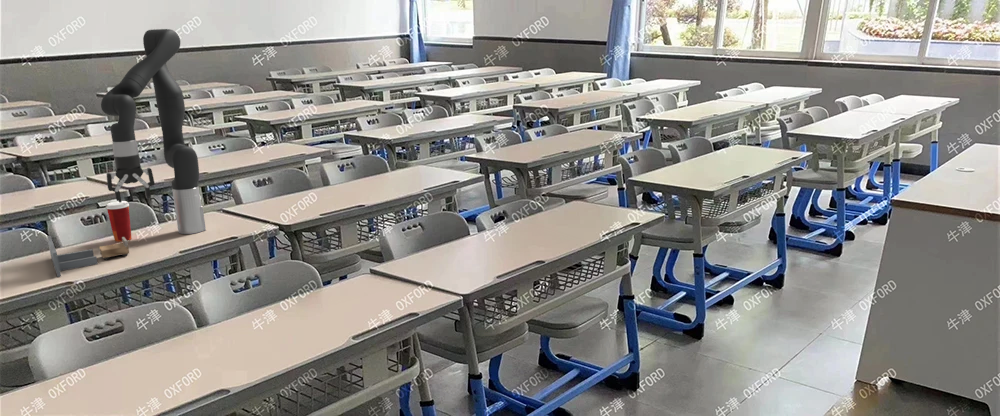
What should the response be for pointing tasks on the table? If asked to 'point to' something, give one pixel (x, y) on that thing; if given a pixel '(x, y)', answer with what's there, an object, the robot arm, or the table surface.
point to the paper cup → (119, 220)
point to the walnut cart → (115, 249)
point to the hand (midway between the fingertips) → (133, 200)
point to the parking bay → (70, 258)
